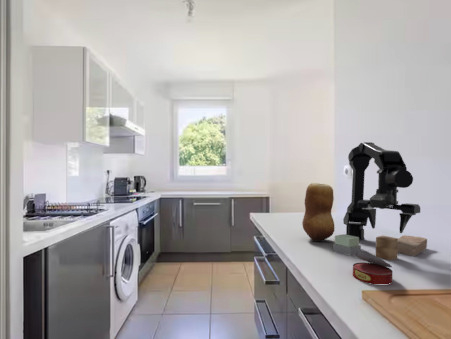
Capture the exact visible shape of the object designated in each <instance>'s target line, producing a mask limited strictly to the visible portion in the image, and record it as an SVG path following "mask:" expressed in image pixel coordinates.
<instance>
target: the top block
mask: <svg viewBox="0 0 451 339" xmlns="http://www.w3.org/2000/svg"><path fill="white" fill-rule="evenodd" d="M359 242H360V240H359V237H355V236H350V235H346V234H345V233H344V234H338V235H334V243H335V244H338V245H342V246H346V247H353V246H358V245H360V244H359Z"/></svg>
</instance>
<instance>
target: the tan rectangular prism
mask: <svg viewBox="0 0 451 339" xmlns="http://www.w3.org/2000/svg"><path fill="white" fill-rule="evenodd" d="M397 243H398V238H397V237H391V236H387V235H380V236H376V237H375V256H377V257H378V258H380V259H382V260H385V261H394V260H397V259H398V253H397Z"/></svg>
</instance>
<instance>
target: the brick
mask: <svg viewBox="0 0 451 339" xmlns="http://www.w3.org/2000/svg"><path fill="white" fill-rule="evenodd" d="M427 247H428V238H425V237H421V236H413V235H405V234H404V235H401V236H400V237H399V238H398V243H397V254H403V255H406V256H412V257H415V256H418V254H420V253H422V252H424V251H425V250H426V249H427Z"/></svg>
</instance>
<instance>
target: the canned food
mask: <svg viewBox="0 0 451 339" xmlns="http://www.w3.org/2000/svg"><path fill="white" fill-rule="evenodd" d="M352 256H354V257H355V258H357V259H359V260H362V261H364V262H355V263H353V264H352V277H353V278H354V279H355V280H357V281H360V282H361V283H362V282H363V283H365V284H369V283H371V284H370V285H374V284H389V283H392V284H393V270H392V269H391V268H392V267H393V266H392V265H391V264H390V263H389V262H386V260H385V259H382V258H378V257H377V256H376V254H373V253H371V252H369V251H367V250H364V249H362V248H361V249H355V250H354V251H353V255H352ZM389 285H390V284H389Z"/></svg>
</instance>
